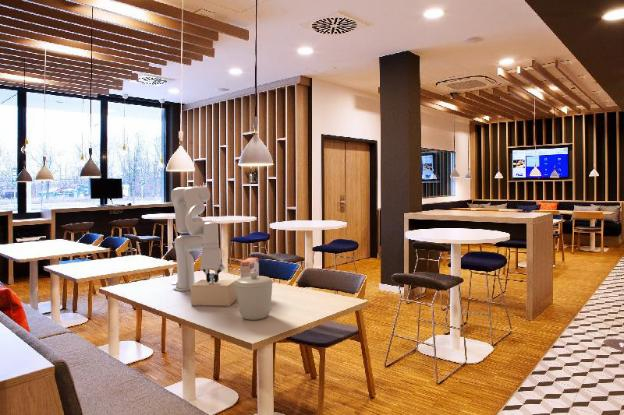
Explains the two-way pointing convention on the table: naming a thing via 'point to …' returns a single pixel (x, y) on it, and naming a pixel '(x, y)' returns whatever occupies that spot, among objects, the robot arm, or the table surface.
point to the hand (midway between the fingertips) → (212, 281)
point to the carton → (214, 295)
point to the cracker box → (249, 266)
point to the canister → (254, 296)
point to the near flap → (211, 283)
